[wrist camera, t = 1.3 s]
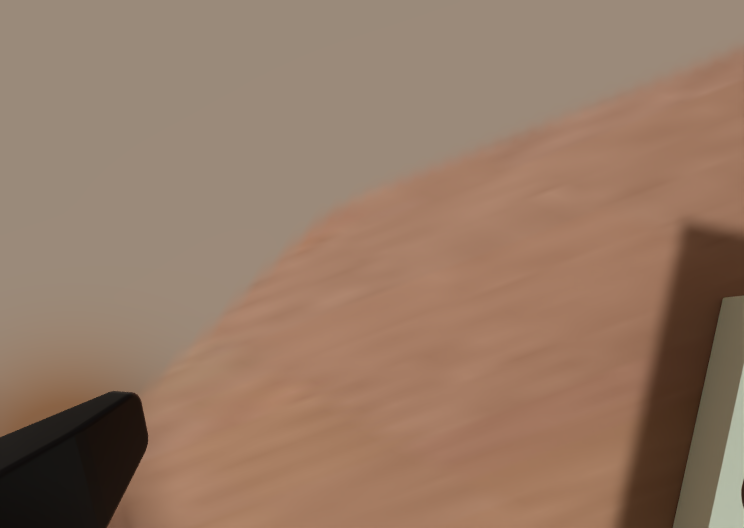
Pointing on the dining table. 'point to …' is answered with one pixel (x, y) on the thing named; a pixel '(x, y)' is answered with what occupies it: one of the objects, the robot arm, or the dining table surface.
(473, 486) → the dining table surface
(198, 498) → the dining table surface
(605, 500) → the dining table surface
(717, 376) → the plinth
